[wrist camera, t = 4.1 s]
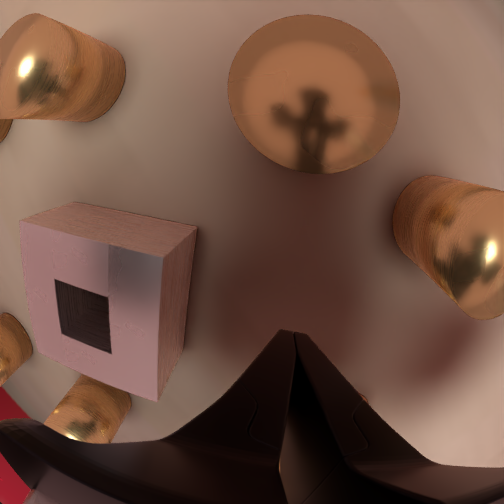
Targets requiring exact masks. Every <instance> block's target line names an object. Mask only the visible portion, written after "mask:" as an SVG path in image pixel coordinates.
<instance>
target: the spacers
mask: <svg viewBox="0 0 504 504" xmlns="http://www.w3.org/2000/svg"><path fill="white" fill-rule="evenodd" d="M124 79H125V64H124V60H123V58H122V56H121V54H120V53H119V52H118V51H117V50H116V49H115V48H113V47H111V46H109V45H107V44H105V43H103V42H101V41H99V40H97V39H95V38H93V37H91V36H89V35H87V34H84V33H82V32H80V31H78V30H76V29H74V28H72V27H69V26H67V25H65V24H63V23H60V22H58V21H56V20H53V19H51V18H48V17H46V16H44V15H41V14H37V13H34V14H29V15H27V16H24V17H23V18H21V19H19V20H18V21H17V22H15V23H14V24H13V25H12V26H11V27H10V28H9V29H8V30H7V31H6V33H5V34H4V35H3V36H2V38H1V39H0V142H1V141H2V140H3V139H4V138H5V136H6V134H7V133H8V131H9V128H10V126H11V123H12V119H41V120H63V121H78V122H88V121H92V120H94V119H96V118H98V117H100V116H101V115H103V114H104V113H105V112H106V111H108V110H109V108H110V107H111V106H112V105H113V104H114V102H115V101H116V99H117V98H118V96H119V94H120V92H121V89H122V87H123V83H124ZM228 97H229V104H230V108H231V111H232V114H233V117H234V119H235V121H236V123H237V125H238V127H239V129H240V130H241V132H242V133H243V135H244V136H245V137H246V138H247V140H248V141H249V142H250V143H251V144H252V145H253V146H254V147H255V148H256V149H257V150H258V151H259V152H261V153H262V154H263V155H265V156H266V157H267V158H269V159H271V160H272V161H274V162H276V163H277V164H280V165H282V166H284V167H287V168H289V169H293V170H296V171H299V172H305V173H311V174H329V173H337V172H342V171H346V170H349V169H352V168H355V167H357V166H359V165H361V164H363V163H365V162H366V161H368V160H369V159H370V158H372V157H373V156H374V155H375V154H377V153H378V152H379V151H380V150H381V149H382V148H383V146H384V145H385V144H386V143H387V141H388V140H389V138H390V136H391V134H392V133H393V130H394V128H395V126H396V123H397V119H398V115H399V108H400V93H399V87H398V82H397V79H396V76H395V72H394V70H393V68H392V66H391V64H390V62H389V60H388V59H387V57H386V56H385V54H384V53H383V52H382V50H381V49H380V48H379V47H378V45H377V44H376V43H375V42H373V41H372V40H371V39H370V38H369V37H368V36H367V35H365V34H364V33H363V32H361V31H360V30H358V29H356V28H355V27H353V26H351V25H349V24H347V23H345V22H342V21H340V20H337V19H334V18H330V17H325V16H320V15H296V16H290V17H285V18H282V19H279V20H276V21H273V22H271V23H269V24H267V25H265V26H264V27H262V28H260V29H259V30H257V31H256V32H255V33H254V34H253V35H251V36H250V37H249V38H248V39H247V40H246V41H245V43H244V44H243V45H242V46H241V48H240V49H239V51H238V52H237V54H236V56H235V58H234V60H233V62H232V66H231V69H230V72H229V79H228ZM393 232H394V236H395V239H396V242H397V244H398V246H399V248H400V249H401V250H402V252H403V253H404V254H405V255H406V256H407V257H409V258H410V259H411V260H412V261H413V262H414V263H415V264H416V265H417V266H418V267H419V268H420V269H422V270H423V271H424V272H425V273H426V274H427V275H428V276H429V277H430V278H431V279H432V280H433V281H434V282H435V283H436V284H437V285H438V286H439V287H440V288H441V289H442V290H443V291H444V292H445V293H446V294H447V295H448V296H449V297H450V298H451V299H452V300H453V301H454V302H455V303H456V304H457V305H458V306H459V307H460V308H461V309H462V310H463V311H464V312H465V313H466V314H467V315H469V316H470V317H472V318H475V319H478V320H488V319H492V318H495V317H498V316H500V315H502V314H503V313H504V191H500V190H497V189H493V188H489V187H485V186H481V185H477V184H472V183H468V182H464V181H459V180H454V179H450V178H445V177H440V176H434V175H431V176H423V177H421V178H418V179H416V180H414V181H413V182H412V183H410V184H409V185H408V186H407V187H406V188H405V189H404V191H403V192H402V193H401V195H400V196H399V198H398V201H397V203H396V206H395V209H394V213H393ZM31 355H32V345H31V342H30V339H29V337H28V335H27V333H26V332H25V330H24V328H23V327H22V326H21V324H20V323H19V322H18V321H17V320H16V319H15V318H14V317H13V316H11V315H10V314H8V313H3V314H1V315H0V386H1V385H2V384H3V383H4V382H5V381H6V380H7V379H8V378H9V377H10V376H11V375H12V374H13V373H14V372H15V371H16V370H17V369H18V368H19V367H20V366H21V365H22V364H23V363H24V362H25V361H26V360H27V359H29V358H30V357H31ZM360 395H361V394H360ZM361 396H362V398H363V400H365V401H366V402H367V403H368V401H367V399H366V398H365V397H364V396H363V395H361ZM368 404H369V403H368ZM130 407H131V400H130V397H129V395H128V393H127V392H126V391H123V390H121V389H118V388H116V387H113V386H110V385H108V384H105V383H103V382H101V381H98V380H96V379H93V378H91V377H89V376H87V375H84V374H82V375H81V376H80V378H79V379H78V380H77V381H76V383H75V384H74V385H73V386H72V388H71V389H70V390H69V391H68V393H67V394H66V395H65V396H64V398H63V399H62V400H61V402H60V403H59V404H58V405H57V407H56V408H55V409H54V411H53V412H52V413H51V415H50V416H49V417H48V418H47V420H46V421H45V422H44V425H46V426H48V427H50V428H52V429H53V430H55V431H57V432H59V433H60V434H62V435H65V436H67V437H69V438H72V439H75V440H78V441H82V442H88V443H99V444H101V443H111V442H112V440H113V438H114V436H115V434H116V433H117V431H118V429H119V427H120V425H121V423H122V422H123V420H124V418H125V416H126V414H127V413H128V411H129V409H130ZM279 471H280V463H279Z"/></svg>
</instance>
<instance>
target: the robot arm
mask: <svg viewBox="0 0 504 504" xmlns="http://www.w3.org/2000/svg"><path fill="white" fill-rule="evenodd" d="M0 452H1V454H2V455H3V456H4V458H5V459H6V460H7V462H8V463H9V464H10V466H11V467H12V468H13V469H14V471H15V472H16V473H17V474H18V475H19V477H20V478H21V479H22V480H23V481H24V482H25V483H26V485H27V486H28V487H29V488H30V489H31V491H30V492H29V494H28V496H27V497H26V499H25V500H24V502H23V504H504V468H485V467H463V466H450V465H442V464H438V463H435V462H433V461H431V460H429V459H427V458H426V457H424V456H423V455H422V454H421V453H419V452H418V451H417V450H416V449H415V448H414V447H413V446H411V445H410V444H409V443H408V442H407V441H406V440H405V439H404V438H402V437H401V436H400V435H399V434H398V433H397V432H396V431H395V430H393V429H392V428H391V427H390V426H389V425H388V424H387V423H386V422H385V421H384V420H383V419H382V418H381V417H380V416H379V415H378V414H377V413H376V412H375V411H374V410H373V409H372V408H371V406H370V405H369V404H368V403H367V402H366V401H365V400H363V398H362V396H361V395H360V394H359V393H358V392H357V391H356V390H355V389H354V387H353V386H352V385H351V384H350V383H349V382H348V381H347V380H346V378H345V377H344V376H343V375H342V374H341V373H340V372H339V371H338V369H337V368H336V367H335V366H334V365H333V364H332V363H331V361H330V360H329V359H328V358H327V357H326V356H325V355H324V353H323V352H322V351H321V350H320V349H319V348H318V347H317V345H316V344H315V343H314V342H313V341H312V340H311V339H310V337H309V336H308V335H307V334H303V333H298V332H294V333H293V332H292V331H288V330H283V329H280V330H279V331H278V332H277V333H276V334H275V336H274V337H273V338H272V339H271V341H270V342H269V343H268V344H267V345H266V347H265V348H264V349H263V350H262V352H261V353H260V354H259V355H258V356H257V357H256V359H255V360H254V361H253V362H252V363H251V365H250V366H249V367H248V368H247V369H246V370H245V372H244V373H243V374H242V375H241V376H240V377H239V379H238V380H237V381H236V382H235V383H234V384H233V385H232V386H231V387H230V388H229V389H228V391H227V392H226V393H225V394H224V395H223V396H222V397H221V398H219V399H218V400H217V401H216V402H215V403H213V404H212V405H211V406H210V407H209V408H207V409H206V410H205V411H203V412H202V413H201V414H199V415H198V416H197V417H195V418H194V419H192V420H191V421H190V422H188V423H187V424H186V425H184V426H183V427H181V428H180V429H179V430H177V431H176V432H174V433H172V434H171V435H169V436H167V437H165V438H162V439H159V440H154V441H143V442H128V443H101V444H99V443H88V442H82V441H78V440H75V439H72V438H69V437H67V436H65V435H62V434H60V433H59V432H57V431H55V430H53V429H52V428H50V427H48V426H46V425H44V424H43V423H41V422H39V421H36V420H33V419H28V418H23V419H17V418H15V419H6V420H2V421H0ZM279 463H280V471H279ZM0 504H2V503H1V502H0Z"/></svg>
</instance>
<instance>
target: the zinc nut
mask: <svg viewBox="0 0 504 504" xmlns="http://www.w3.org/2000/svg"><path fill="white" fill-rule="evenodd" d="M197 228H198V227H196V226H191V225H186V224H182V223H177V222H172V221H167V220H162V219H158V218H153V217H148V216H143V215H138V214H133V213H128V212H123V211H118V210H113V209H108V208H103V207H98V206H93V205H88V204H83V203H78V202H73V203H69V204H66V205H63V206H60V207H57V208H54V209H51V210H48V211H45V212H42V213H39V214H36V215H33V216H30V217H28V218H25V219H22V220H20V241H21V254H22V264H23V273H24V281H25V288H26V295H27V301H28V307H29V312H30V317H31V322H32V327H33V331H34V336H35V340H36V344H37V348H38V352H39V353H41V354H43V355H45V356H47V357H49V358H51V359H53V360H55V361H57V362H59V363H61V364H63V365H65V366H67V367H69V368H71V369H73V370H75V371H78V372H80V373H82V374H84V375H87V376H89V377H91V378H93V379H96V380H98V381H101V382H103V383H105V384H108V385H110V386H113V387H116V388H118V389H121V390H123V391H126V392H129V393H132V394H134V395H137V396H140V397H143V398H146V399H149V400H152V401H155V402H158V400H159V398H160V396H161V394H162V392H163V390H164V388H165V386H166V384H167V382H168V380H169V378H170V375H171V373H172V371H173V369H174V367H175V365H176V363H177V361H178V359H179V357H180V355H181V353H182V351H183V345H184V334H185V324H186V314H187V305H188V296H189V288H190V279H191V271H192V263H193V256H194V249H195V241H196V234H197Z"/></svg>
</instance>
